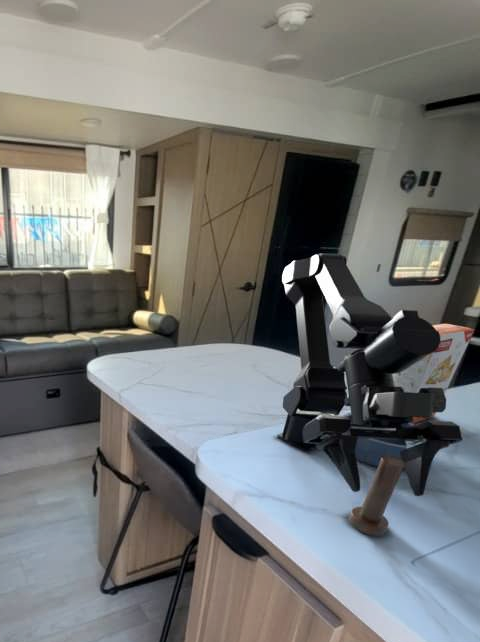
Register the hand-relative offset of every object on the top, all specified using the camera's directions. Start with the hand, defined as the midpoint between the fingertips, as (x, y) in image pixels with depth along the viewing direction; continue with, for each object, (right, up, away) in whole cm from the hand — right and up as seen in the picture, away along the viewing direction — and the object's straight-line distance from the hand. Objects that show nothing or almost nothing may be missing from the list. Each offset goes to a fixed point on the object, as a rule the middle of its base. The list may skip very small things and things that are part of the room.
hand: (387, 493), depth 55 cm
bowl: (+15, +4, +24) cm, 28 cm away
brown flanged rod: (0, -5, +4) cm, 7 cm away
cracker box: (+32, +10, +38) cm, 51 cm away
